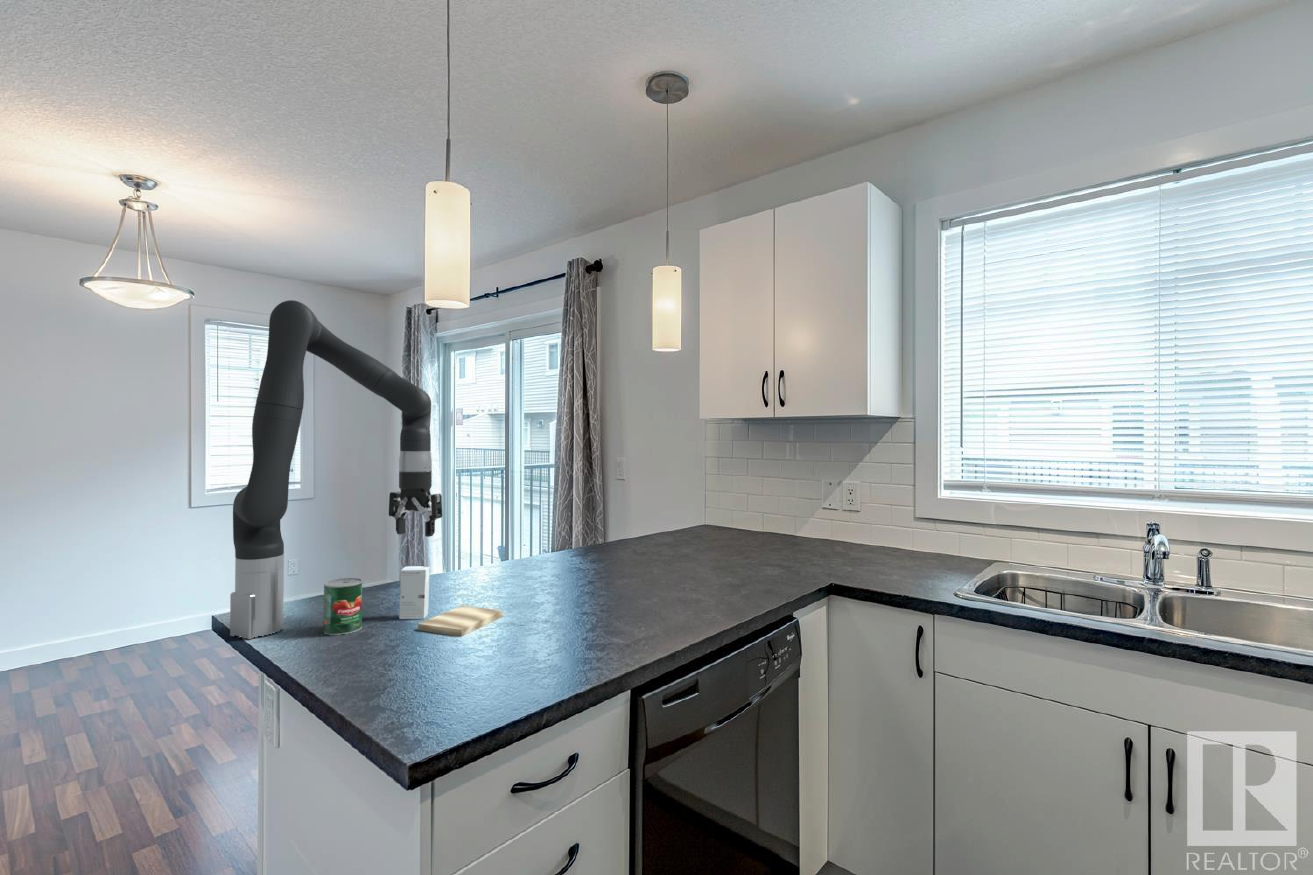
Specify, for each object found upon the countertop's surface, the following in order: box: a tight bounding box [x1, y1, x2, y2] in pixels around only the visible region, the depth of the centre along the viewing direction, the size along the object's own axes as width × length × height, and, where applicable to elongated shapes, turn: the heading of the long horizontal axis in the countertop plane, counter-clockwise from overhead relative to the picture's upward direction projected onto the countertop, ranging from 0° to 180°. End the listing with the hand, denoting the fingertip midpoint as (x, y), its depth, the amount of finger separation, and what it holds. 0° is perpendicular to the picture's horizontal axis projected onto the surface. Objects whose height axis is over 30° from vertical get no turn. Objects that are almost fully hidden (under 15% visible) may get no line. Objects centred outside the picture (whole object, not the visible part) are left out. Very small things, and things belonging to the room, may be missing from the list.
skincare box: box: [398, 565, 431, 620], centre depth 151 cm, size 6×4×12 cm
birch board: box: [417, 605, 504, 637], centre depth 146 cm, size 16×12×2 cm
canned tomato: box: [323, 577, 363, 636], centre depth 140 cm, size 8×8×11 cm
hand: (415, 535), depth 151 cm, fingers open, 8 cm apart
